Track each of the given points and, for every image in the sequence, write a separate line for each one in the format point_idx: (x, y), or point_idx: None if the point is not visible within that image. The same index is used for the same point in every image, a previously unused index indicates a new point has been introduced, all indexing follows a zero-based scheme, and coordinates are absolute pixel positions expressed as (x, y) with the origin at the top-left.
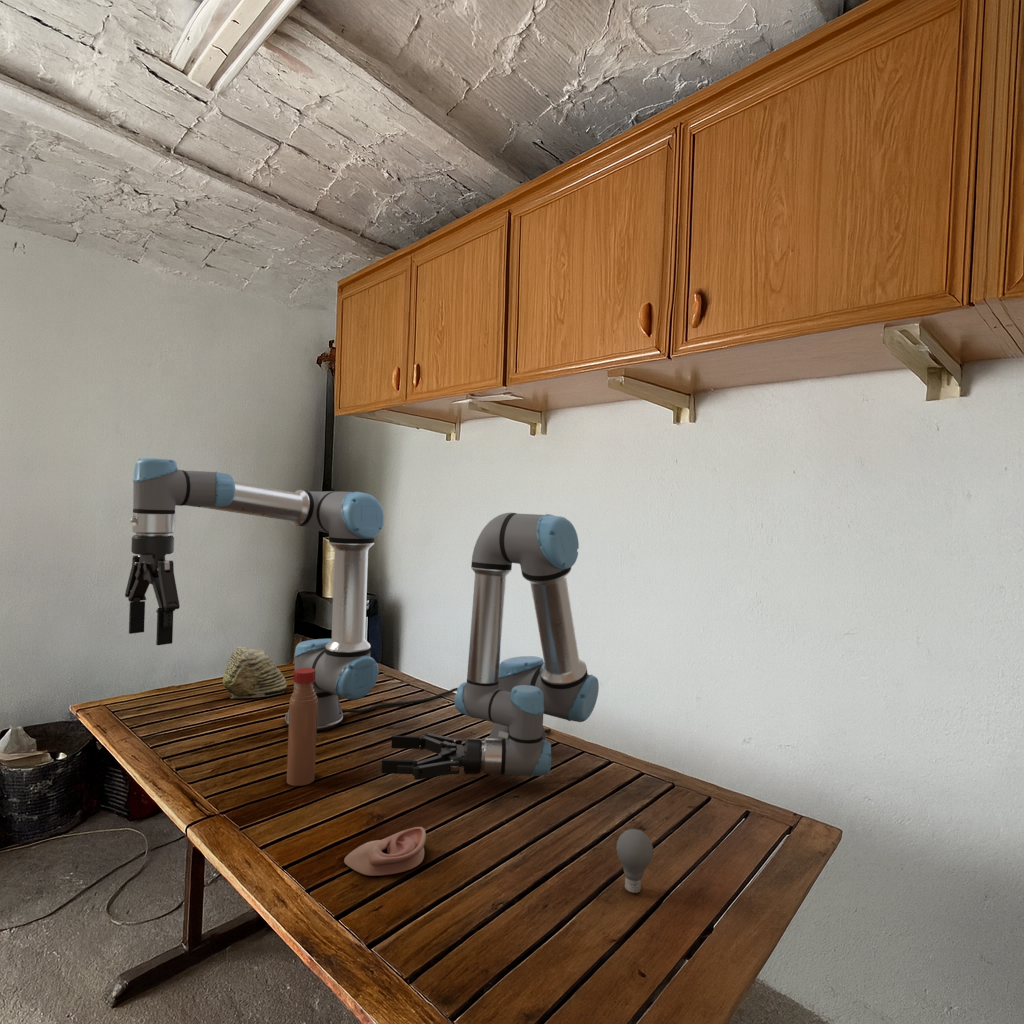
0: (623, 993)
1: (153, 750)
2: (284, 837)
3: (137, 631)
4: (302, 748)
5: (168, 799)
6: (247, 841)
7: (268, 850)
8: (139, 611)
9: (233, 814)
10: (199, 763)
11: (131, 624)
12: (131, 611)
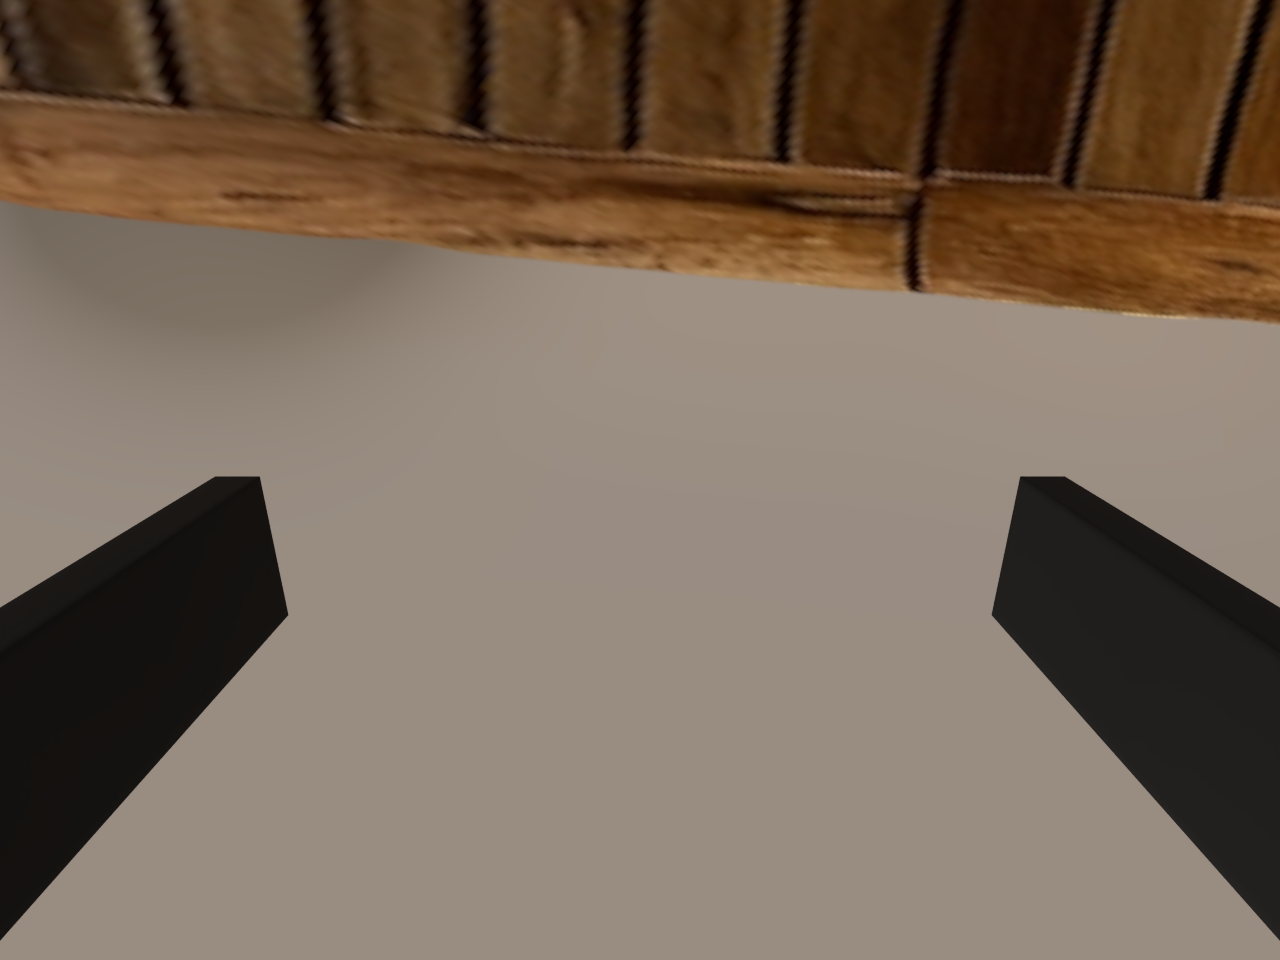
0: None
1: (217, 110)
2: (1232, 107)
3: (263, 553)
4: None
5: (701, 259)
6: (1145, 207)
7: (1242, 188)
8: (73, 700)
9: (966, 150)
10: (473, 24)
11: (227, 671)
12: (99, 816)
